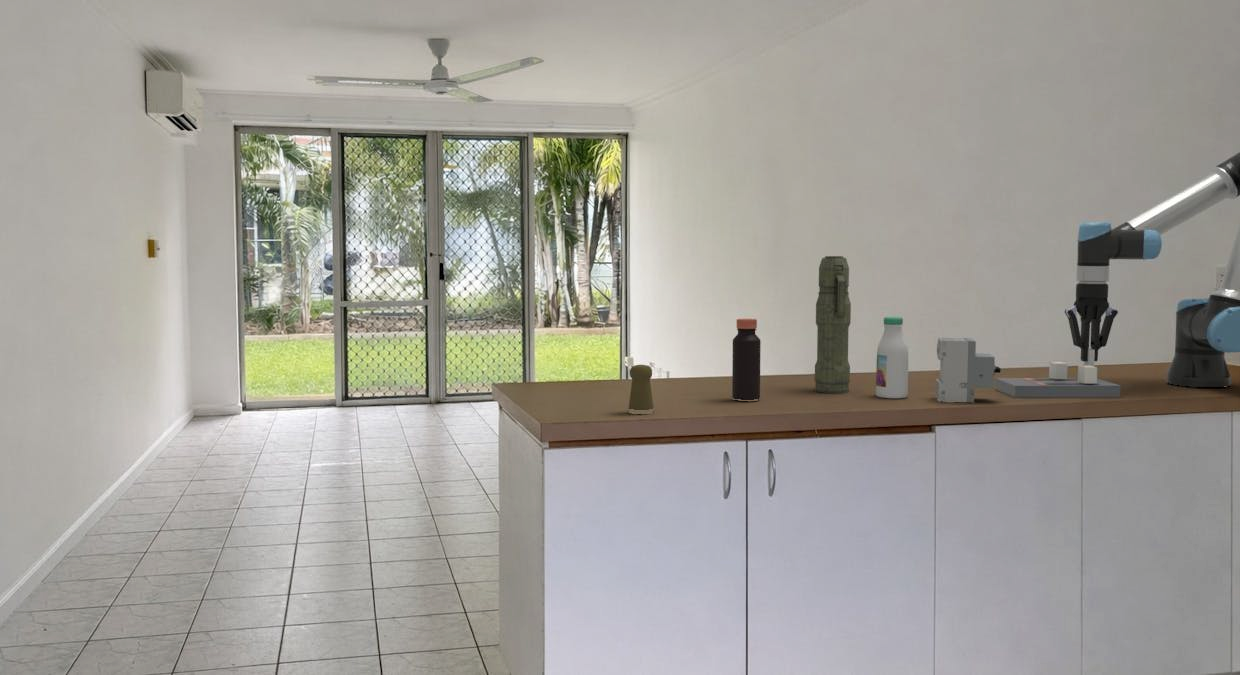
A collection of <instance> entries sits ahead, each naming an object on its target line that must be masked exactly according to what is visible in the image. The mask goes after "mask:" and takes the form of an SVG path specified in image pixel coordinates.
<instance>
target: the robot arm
mask: <svg viewBox="0 0 1240 675" xmlns="http://www.w3.org/2000/svg"><path fill="white" fill-rule="evenodd" d="M1239 196H1240V151H1239V152H1238V153H1236V154H1234V155H1233V156H1231V157H1229V158H1227V159H1226V160H1224V161H1223V162H1222V163H1219V164H1218V165H1216V166H1214V167H1212V169H1211V171H1210V174H1208V175H1206V176H1204V177H1203V178H1201V179H1199V180H1198V181H1196V182H1194V183H1192V184H1191V185H1189V186H1187V187H1184V188H1183V189H1181V190H1180V191H1178V192H1177V193H1174V194H1173V195H1170V196H1169V197H1168V198H1165V199H1164V200H1162V201H1160V202H1158V203H1157V204H1155V205H1153V206H1152V207H1150V208H1148V209H1146V210H1144V211H1142V212H1141V213H1139V214H1137V215H1135V216H1134V217H1132V218H1130V219H1129V220H1126V221H1125V222H1123V223H1121V224H1119V225H1118V226H1116V227H1114V228H1113V229H1112V224H1111V223H1110V222H1103V221H1099V222H1098V221H1097V222H1095V221H1092V222H1089V221H1087V222H1082V223H1081V224H1080V225H1079V227H1078V234H1077V263H1076V264H1077V266H1076V281H1077V282H1078V283H1076V285H1075V286H1076V287H1075V301H1074V303H1073V306H1072V307H1070V308H1069V309H1064V315H1066V317H1067V320H1068V323H1069V329H1070V334H1071V339H1072V343H1073V346H1076V347H1078V348H1080V361H1081V362H1083V366H1094V367H1095V362H1098V360H1099V358H1098V357H1099V350H1100V349H1101V348H1102V347H1103V348H1104V347H1106V346H1107V344H1108V341H1109V340H1108V339H1109V336H1110V334H1111V330H1112V325H1113V322H1114V319H1115V318H1116V316H1117V315H1118V314H1119V311H1118V310H1117V309H1114V308H1112V307H1111V306H1110V303H1109V301H1108V298H1109V284H1108V283H1107V282H1109V280H1110V260H1143V261H1145V260H1154V259H1157V258H1158V257H1159V255H1160V253H1161V252H1162V251H1161V250H1162V241H1163V240H1162V236H1161V235H1163V234H1165V233H1167V232H1168V231H1170V230H1172V229H1173V228H1175V227H1178V226H1180V225H1181V224H1183V223H1185V222H1186V221H1189V220H1190V219H1191V218H1194V217H1195V216H1197V215H1199V214H1201V213H1202V212H1204V211H1206V210H1208V209H1210V208H1211V207H1214V206H1215V205H1217V204H1219V203H1220V202H1222V201H1224V200H1226V199H1230V200H1234V199H1236V198H1238V197H1239ZM1077 314H1078V316H1080V327H1079V323H1078V319H1077ZM1104 314H1105V317H1104V319H1103V323H1102V326H1101V322H1102V317H1103V315H1104ZM1175 315H1176V317H1175V320H1176V321H1175V345H1174V357H1173V358H1172V361H1171V364H1170V366H1169V368H1168V371H1167V373H1166V376H1165V377H1166V382H1167V383H1166V384H1168V383H1169V384H1168V385H1171V384H1173V386H1177V385H1179V386H1178V387H1185V386H1189V387H1188V388H1196V387H1224V386H1229V385H1231V384H1232V379H1231V377H1232V376H1231V374H1230V370H1229V368H1228V365H1227V361H1226V358H1225V353H1240V224H1239V225H1238V228H1237V231H1236V235H1235V239H1234V241H1233V244H1232V247H1231V251H1230V254H1229V257H1228V260H1227V264H1226V266H1225V270H1224V273H1223V276H1222V280H1221V283H1220V286H1219V288H1218V289H1217V290H1215V291H1213V292H1211V293H1210V294H1209V297H1207V298H1205V297H1204V298H1202V297H1201V298H1187V299H1182V300H1180V301H1179V302H1178V303H1177V306H1176V311H1175ZM1231 386H1232V385H1231Z"/></svg>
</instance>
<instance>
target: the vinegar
mask: <svg viewBox="0 0 1240 675" xmlns="http://www.w3.org/2000/svg"><path fill="white" fill-rule="evenodd" d="M757 325H758V320H757V319H756V318H737V319H736V331H737V334H736V336H735V337H734V338H732V373H731V374H732V379H731V380H732V387H731V389H732V390H731V392H732V393H731V394H732V398H734V399H741V400H754V399H759V398H760V399H761V344H762V342H761V338H760V337H759V336H758V335H757V334H756V331H757V330H758V329H757Z"/></svg>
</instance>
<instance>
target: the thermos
mask: <svg viewBox="0 0 1240 675" xmlns="http://www.w3.org/2000/svg"><path fill="white" fill-rule="evenodd" d="M849 284H850V266H849V263H848V259H847V258H846V257H844V256H843V255H841V256H840V255H836V256H835V255H834V256H833V255H832V256H831V255H830V256H828V255H826V256H824V257H822V258H821V260H820V264H819V267H818V287H819V288H818V290H819V291H818V296H817V300H816V303H815V325H816V327H817V330H816V331H817V332H816V333H817V335H816V336H817V339H816V340H817V342H816V344H817V345H816V347H817V349H816V350H817V352H816V362H815V365H814V382H815V388H814V390H816V391H818V392H817V393H821V392H823V393H822V394H847V393H849V392H850V387H849V386H850V381H851V379H850V378H851V366H850V363H849V328H850V325H851V320H852V319H851V311H852V303H851V301H850V295H849V287H850V285H849ZM816 391H815V392H816Z"/></svg>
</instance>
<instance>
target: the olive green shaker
mask: <svg viewBox="0 0 1240 675" xmlns="http://www.w3.org/2000/svg"><path fill="white" fill-rule="evenodd" d="M629 377H630V379H631V387H630V393H629V402H628V409H634V410H649V409H653V408H654V399H653V393H652V386H651V385H652V384H651V378H652V377H653V369H652V367H651V366H649V365H646V364H636V365H632V366H631V367H630V369H629Z"/></svg>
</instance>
